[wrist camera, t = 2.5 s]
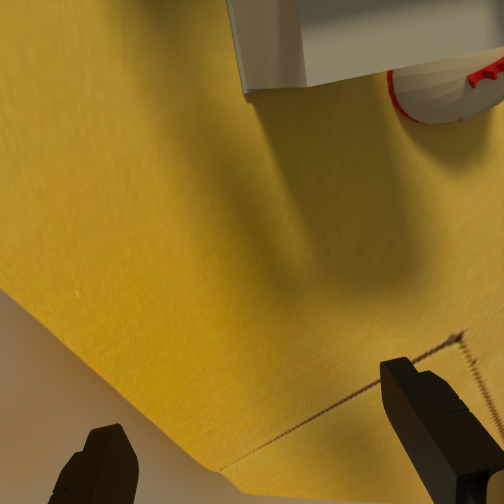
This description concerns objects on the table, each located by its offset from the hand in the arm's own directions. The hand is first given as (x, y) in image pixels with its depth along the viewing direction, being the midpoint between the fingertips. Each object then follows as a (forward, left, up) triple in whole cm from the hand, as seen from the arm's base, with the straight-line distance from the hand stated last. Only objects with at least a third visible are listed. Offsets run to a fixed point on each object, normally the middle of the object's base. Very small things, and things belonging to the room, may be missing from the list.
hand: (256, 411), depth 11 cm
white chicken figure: (+17, +26, -43) cm, 53 cm away
